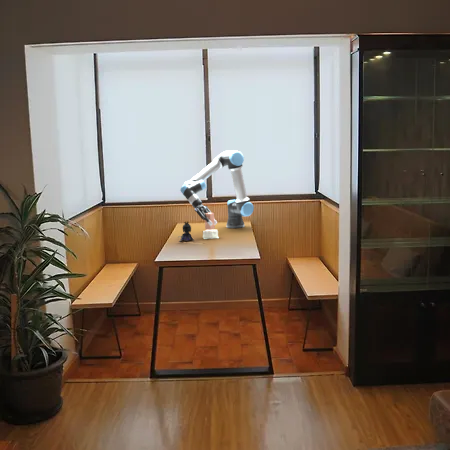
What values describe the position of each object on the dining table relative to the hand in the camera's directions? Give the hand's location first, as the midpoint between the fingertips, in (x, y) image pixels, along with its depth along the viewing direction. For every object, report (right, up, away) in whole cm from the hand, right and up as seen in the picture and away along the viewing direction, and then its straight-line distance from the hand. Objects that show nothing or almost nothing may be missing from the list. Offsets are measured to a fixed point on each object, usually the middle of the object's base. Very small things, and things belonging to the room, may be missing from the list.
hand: (213, 224), depth 400 cm
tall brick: (-3, -4, +3) cm, 5 cm away
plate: (-3, -11, +4) cm, 12 cm away
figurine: (-20, -13, -3) cm, 24 cm away
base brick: (-3, -10, +4) cm, 11 cm away
